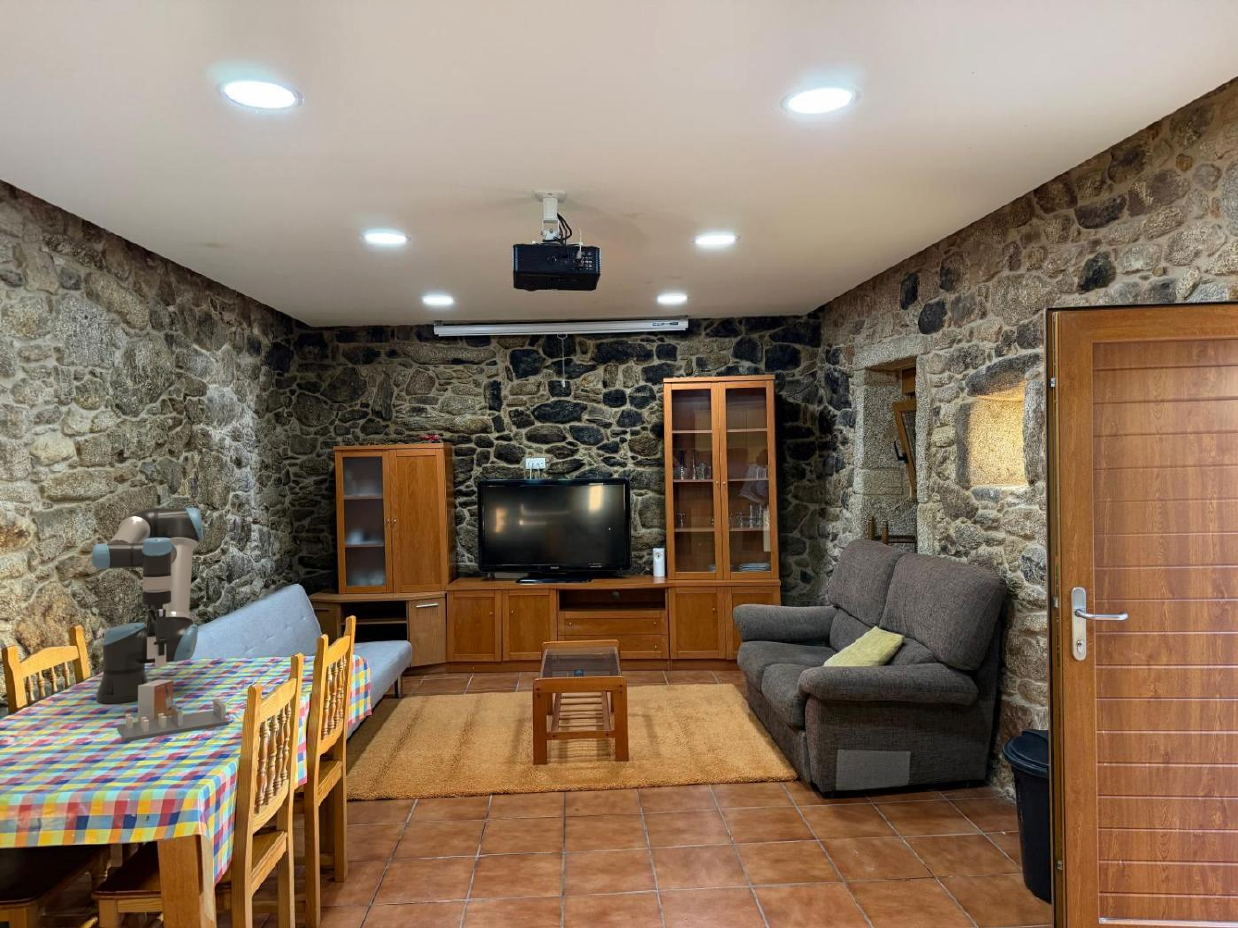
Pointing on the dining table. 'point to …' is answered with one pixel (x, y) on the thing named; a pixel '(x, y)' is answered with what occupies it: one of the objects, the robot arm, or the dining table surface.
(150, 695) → the small box
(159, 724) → the board
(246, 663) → the dining table surface
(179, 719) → the end holder
